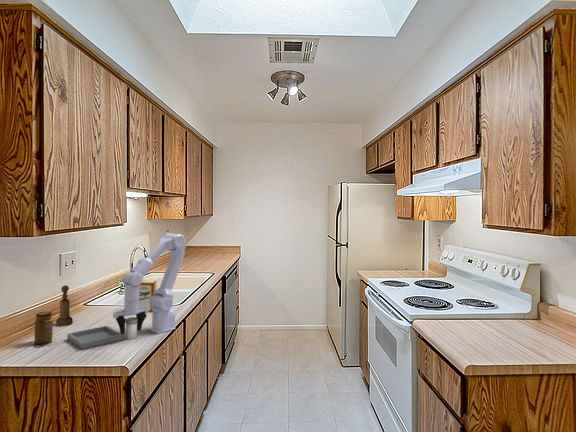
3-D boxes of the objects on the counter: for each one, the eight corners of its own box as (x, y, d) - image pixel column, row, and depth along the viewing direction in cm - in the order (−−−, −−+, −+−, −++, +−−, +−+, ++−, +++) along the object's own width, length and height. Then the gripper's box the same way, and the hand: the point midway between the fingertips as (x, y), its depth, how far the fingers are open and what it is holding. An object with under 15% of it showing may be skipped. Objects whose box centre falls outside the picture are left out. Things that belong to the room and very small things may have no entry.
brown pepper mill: (57, 327, 173) (58, 287, 172) (54, 323, 178) (55, 285, 177) (74, 324, 177) (74, 286, 177) (70, 321, 182) (71, 283, 182)
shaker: (134, 335, 165) (134, 316, 165) (139, 337, 162) (139, 318, 162) (123, 337, 162) (123, 318, 162) (128, 340, 159) (128, 321, 159)
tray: (107, 331, 169) (107, 325, 169) (123, 340, 158) (123, 334, 158) (67, 339, 157) (67, 333, 157) (81, 350, 147) (81, 343, 147)
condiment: (50, 338, 158) (51, 309, 158) (57, 343, 153) (57, 314, 152) (30, 342, 153) (30, 312, 153) (35, 348, 147) (36, 317, 147)
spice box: (155, 309, 207) (156, 279, 207) (153, 312, 201) (153, 282, 201) (137, 309, 206) (138, 279, 206) (134, 312, 200) (134, 282, 199)
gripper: (143, 296, 170) (142, 326, 170) (110, 300, 159) (109, 333, 159) (151, 299, 165) (150, 330, 165) (117, 304, 154) (116, 337, 154)
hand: (130, 332), depth 162 cm, fingers open, 6 cm apart
